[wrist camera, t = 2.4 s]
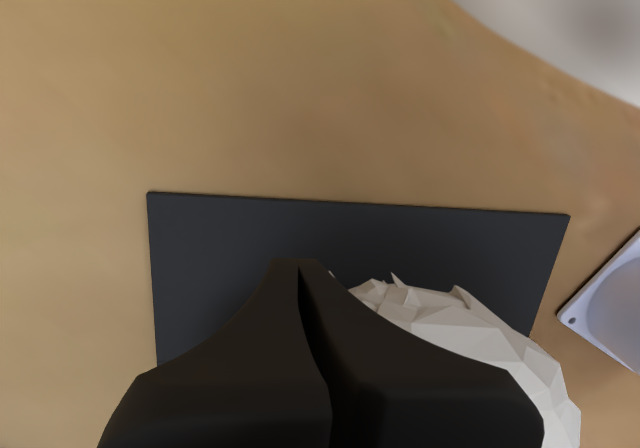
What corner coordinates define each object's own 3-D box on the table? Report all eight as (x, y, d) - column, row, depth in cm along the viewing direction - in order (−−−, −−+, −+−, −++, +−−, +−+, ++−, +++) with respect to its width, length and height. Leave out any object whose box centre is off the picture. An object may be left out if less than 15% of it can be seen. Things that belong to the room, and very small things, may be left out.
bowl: (489, 182, 22) (650, 267, 13) (511, 432, 30) (619, 595, 21) (128, 287, 22) (26, 452, 12) (247, 511, 30) (239, 713, 20)
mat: (148, 191, 20) (146, 193, 20) (566, 213, 24) (571, 216, 24) (171, 564, 31) (169, 570, 31) (453, 540, 35) (455, 545, 35)
